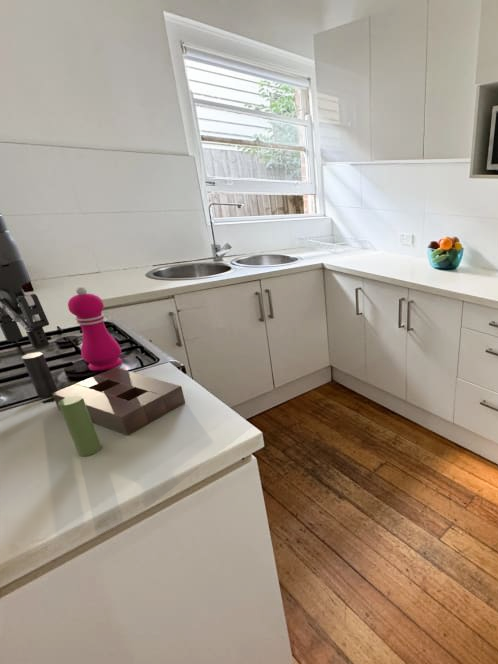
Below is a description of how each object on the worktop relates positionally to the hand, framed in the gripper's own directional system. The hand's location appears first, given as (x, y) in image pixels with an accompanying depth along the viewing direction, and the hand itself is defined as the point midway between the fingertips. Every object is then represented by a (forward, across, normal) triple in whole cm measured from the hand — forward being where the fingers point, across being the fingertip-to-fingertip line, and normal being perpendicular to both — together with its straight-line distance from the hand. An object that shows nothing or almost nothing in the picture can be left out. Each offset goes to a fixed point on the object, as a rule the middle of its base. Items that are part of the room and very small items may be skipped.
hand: (28, 343), depth 73 cm
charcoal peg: (+12, 0, 0) cm, 13 cm away
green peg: (+13, +24, -7) cm, 28 cm away
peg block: (+13, +16, +4) cm, 20 cm away
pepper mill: (+13, -4, +13) cm, 18 cm away
